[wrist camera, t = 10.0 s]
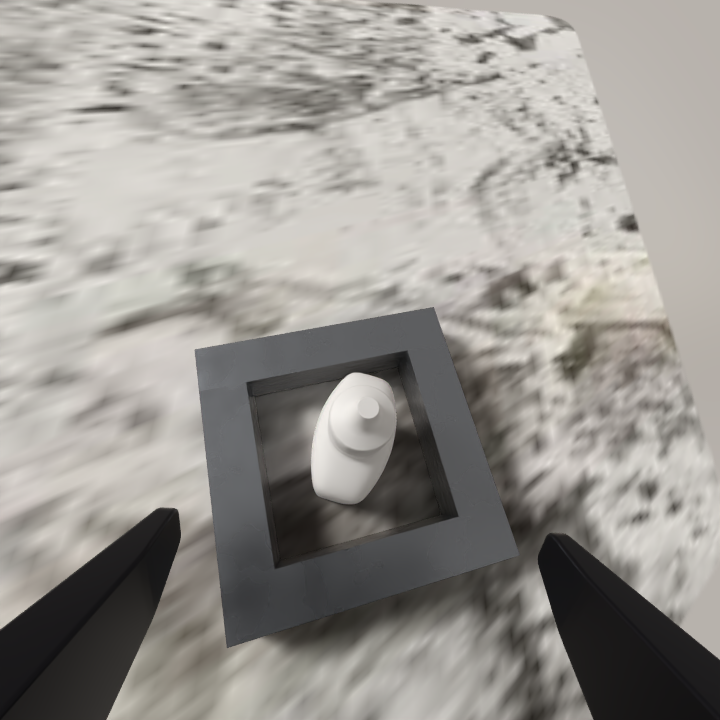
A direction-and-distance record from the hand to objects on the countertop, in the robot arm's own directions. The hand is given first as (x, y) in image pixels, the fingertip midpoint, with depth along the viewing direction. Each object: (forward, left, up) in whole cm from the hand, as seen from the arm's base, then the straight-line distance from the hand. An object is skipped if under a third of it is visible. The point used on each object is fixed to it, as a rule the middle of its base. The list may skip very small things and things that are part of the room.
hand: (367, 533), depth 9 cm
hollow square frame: (+3, -1, -14) cm, 14 cm away
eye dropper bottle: (+3, -1, -14) cm, 14 cm away
